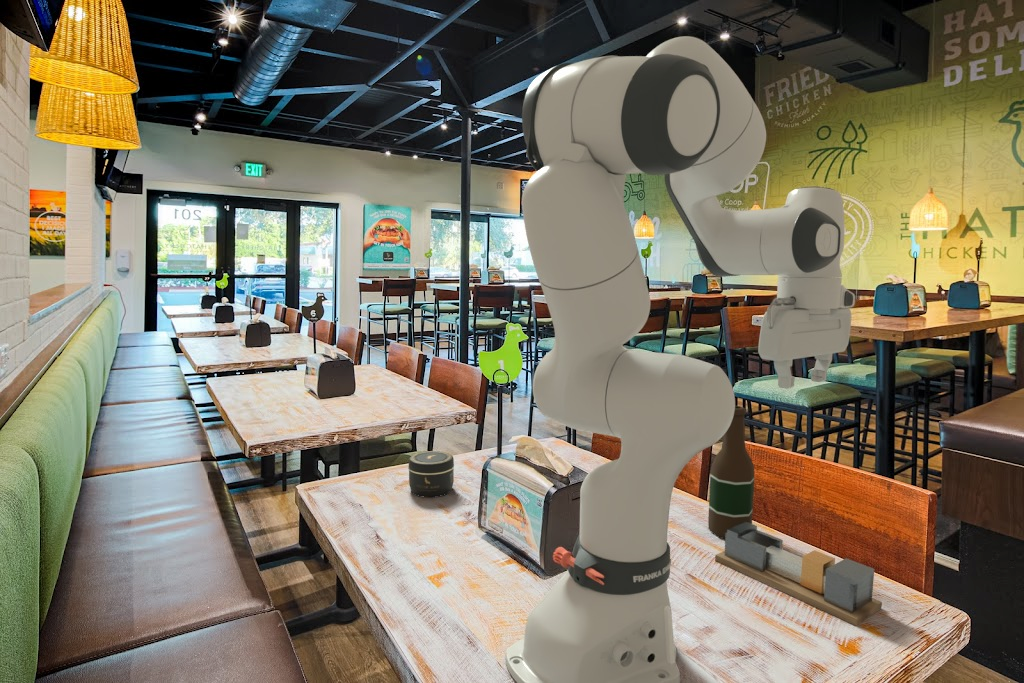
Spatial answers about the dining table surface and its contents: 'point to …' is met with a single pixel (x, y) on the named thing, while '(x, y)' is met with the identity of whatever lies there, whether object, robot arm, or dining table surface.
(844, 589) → the socket
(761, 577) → the board
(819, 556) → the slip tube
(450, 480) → the jar
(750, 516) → the beer bottle
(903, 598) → the dining table surface
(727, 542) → the grey u-shaped bracket
